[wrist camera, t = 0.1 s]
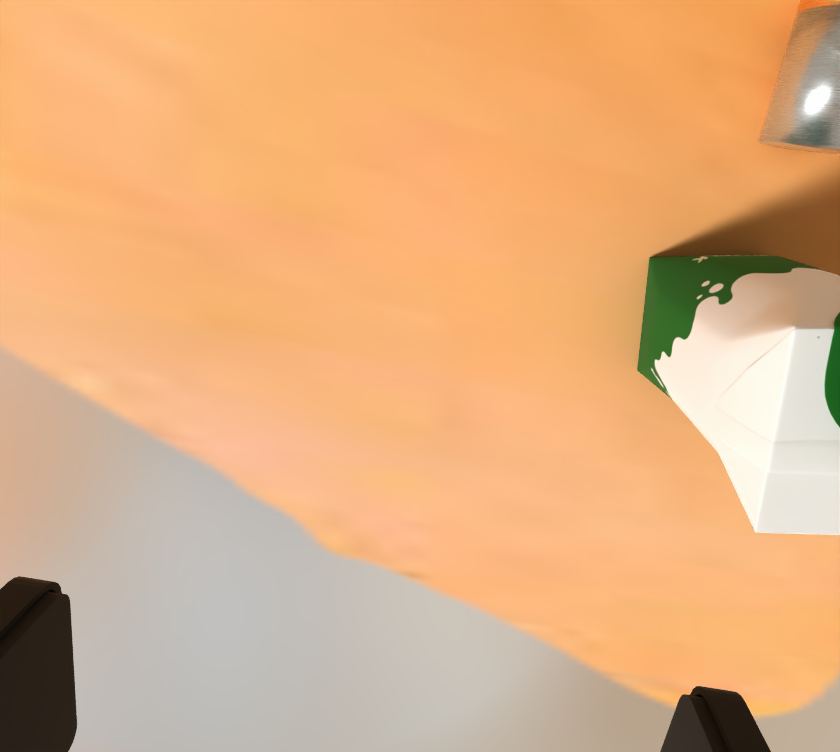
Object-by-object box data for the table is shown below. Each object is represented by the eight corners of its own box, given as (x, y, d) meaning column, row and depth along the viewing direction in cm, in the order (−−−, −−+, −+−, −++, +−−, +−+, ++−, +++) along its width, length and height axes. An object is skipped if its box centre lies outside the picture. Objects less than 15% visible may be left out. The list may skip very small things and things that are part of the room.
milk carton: (788, 241, 37) (1132, 329, 18) (762, 387, 40) (1033, 596, 21) (634, 241, 37) (809, 326, 18) (620, 385, 40) (758, 586, 21)
